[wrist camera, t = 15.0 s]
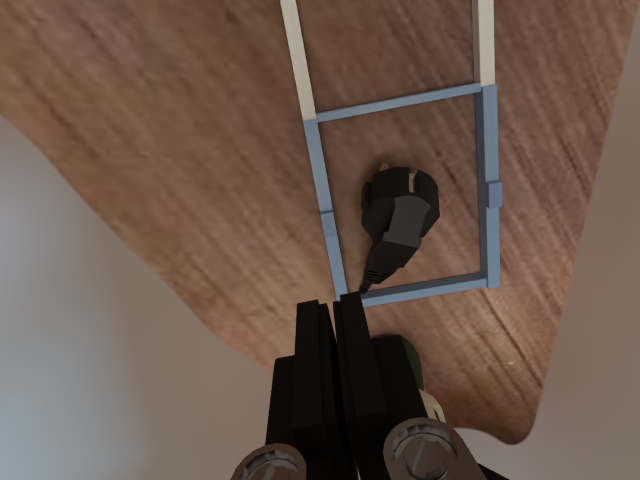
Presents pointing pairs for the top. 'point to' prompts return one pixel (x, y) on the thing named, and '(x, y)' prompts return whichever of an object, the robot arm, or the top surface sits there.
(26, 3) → the top surface
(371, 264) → the power plug
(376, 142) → the top surface
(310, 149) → the blue cream pronged frame
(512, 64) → the top surface
